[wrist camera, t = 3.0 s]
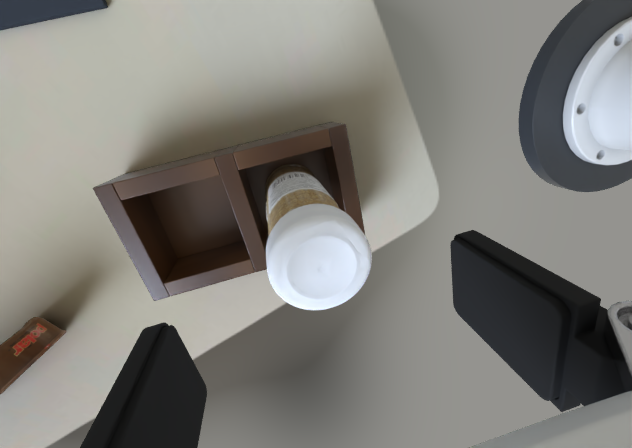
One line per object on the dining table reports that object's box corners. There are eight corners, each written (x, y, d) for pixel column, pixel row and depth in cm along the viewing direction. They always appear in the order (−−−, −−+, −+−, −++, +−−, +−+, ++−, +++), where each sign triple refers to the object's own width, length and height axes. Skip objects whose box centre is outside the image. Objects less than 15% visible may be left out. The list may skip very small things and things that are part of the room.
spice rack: (331, 121, 23) (346, 123, 19) (350, 221, 27) (366, 240, 23) (123, 174, 22) (92, 188, 18) (171, 271, 26) (153, 301, 22)
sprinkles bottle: (266, 216, 25) (268, 319, 12) (263, 162, 23) (263, 219, 11) (318, 213, 26) (370, 309, 13) (320, 161, 24) (380, 214, 12)
